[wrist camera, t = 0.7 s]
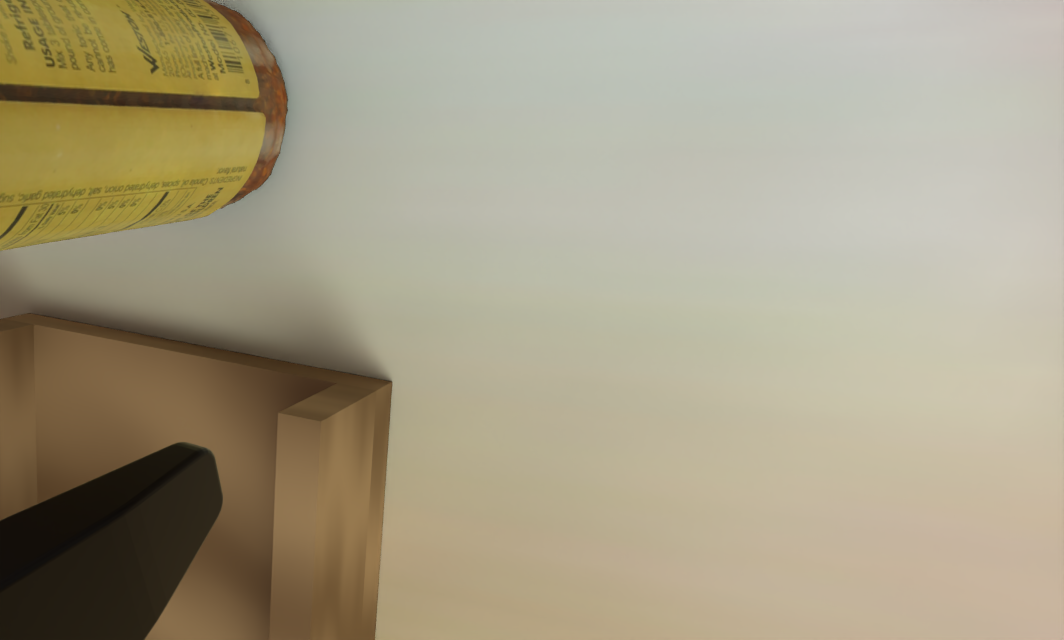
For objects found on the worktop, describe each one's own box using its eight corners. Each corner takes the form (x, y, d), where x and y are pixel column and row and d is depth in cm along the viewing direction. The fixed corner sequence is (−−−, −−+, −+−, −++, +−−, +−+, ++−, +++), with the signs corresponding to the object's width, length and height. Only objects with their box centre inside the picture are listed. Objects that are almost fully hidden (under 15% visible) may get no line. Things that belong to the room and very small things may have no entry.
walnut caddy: (365, 771, 28) (298, 866, 24) (37, 666, 31) (-67, 737, 28) (391, 381, 25) (321, 421, 21) (29, 313, 29) (-88, 336, 25)
